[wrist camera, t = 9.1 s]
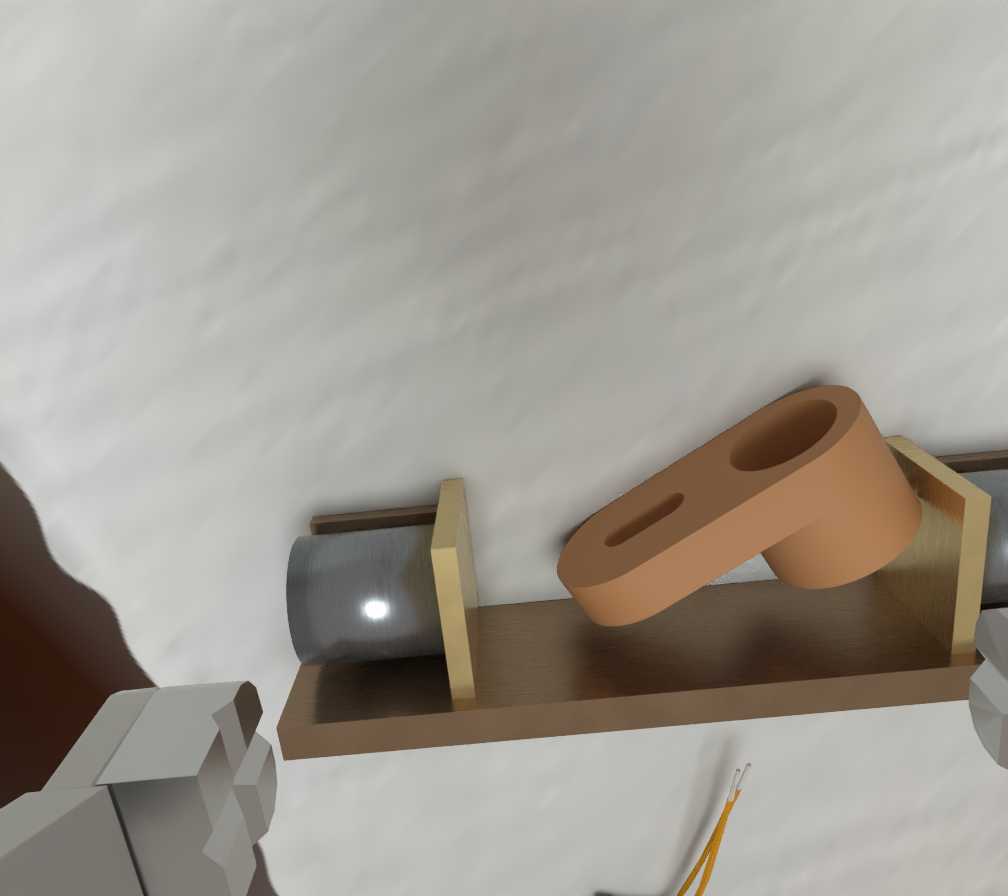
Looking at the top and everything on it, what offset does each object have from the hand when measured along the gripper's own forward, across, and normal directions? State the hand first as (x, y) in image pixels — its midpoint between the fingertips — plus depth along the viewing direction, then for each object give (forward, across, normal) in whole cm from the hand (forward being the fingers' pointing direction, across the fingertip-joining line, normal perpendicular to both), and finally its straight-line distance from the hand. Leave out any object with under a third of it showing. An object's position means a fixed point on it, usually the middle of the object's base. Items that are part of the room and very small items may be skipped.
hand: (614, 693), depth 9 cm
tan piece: (+32, -8, +11) cm, 35 cm away
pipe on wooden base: (+36, -7, +16) cm, 40 cm away
